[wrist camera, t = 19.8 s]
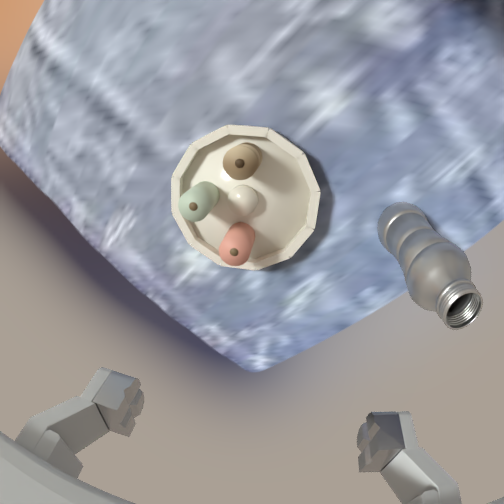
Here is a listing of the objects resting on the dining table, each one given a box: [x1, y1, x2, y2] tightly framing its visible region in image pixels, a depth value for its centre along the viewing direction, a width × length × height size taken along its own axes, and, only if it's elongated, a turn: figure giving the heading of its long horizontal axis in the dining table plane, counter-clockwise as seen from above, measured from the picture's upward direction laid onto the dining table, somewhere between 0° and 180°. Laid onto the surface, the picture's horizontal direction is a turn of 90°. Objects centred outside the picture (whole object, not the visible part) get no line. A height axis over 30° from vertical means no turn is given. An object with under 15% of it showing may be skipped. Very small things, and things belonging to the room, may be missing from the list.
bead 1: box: [178, 181, 220, 222], centre depth 35 cm, size 4×4×5 cm
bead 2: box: [223, 142, 262, 180], centre depth 33 cm, size 4×4×5 cm
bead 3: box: [219, 222, 255, 266], centre depth 37 cm, size 4×4×5 cm
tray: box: [171, 125, 321, 270], centre depth 37 cm, size 18×18×2 cm
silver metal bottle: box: [377, 202, 483, 330], centre depth 28 cm, size 6×7×20 cm
